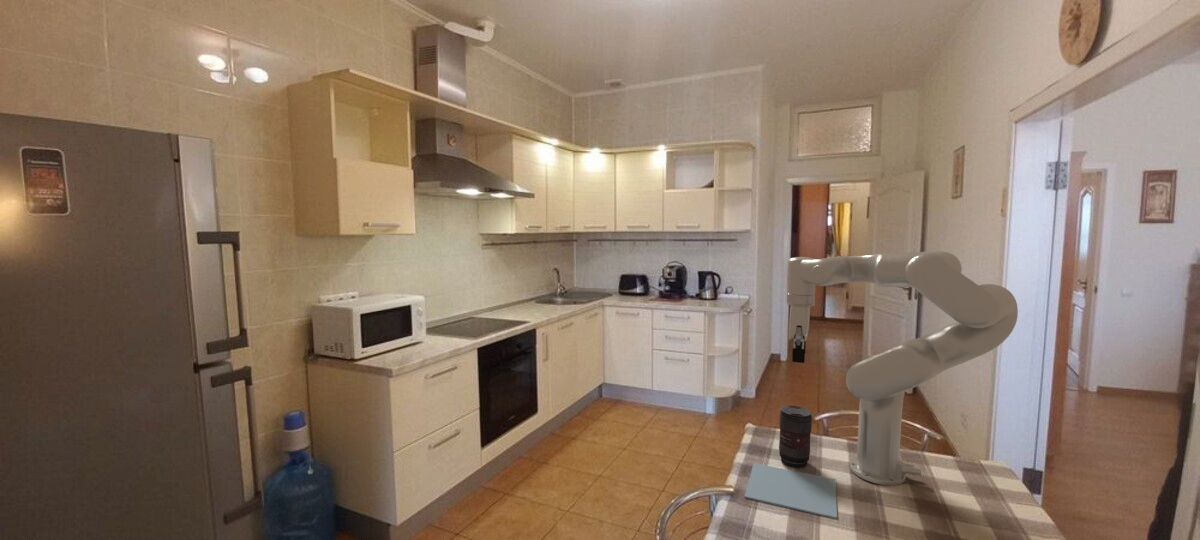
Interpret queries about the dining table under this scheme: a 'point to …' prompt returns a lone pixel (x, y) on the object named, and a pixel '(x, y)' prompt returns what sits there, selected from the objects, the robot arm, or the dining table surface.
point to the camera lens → (795, 436)
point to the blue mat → (793, 490)
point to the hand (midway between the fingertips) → (798, 357)
